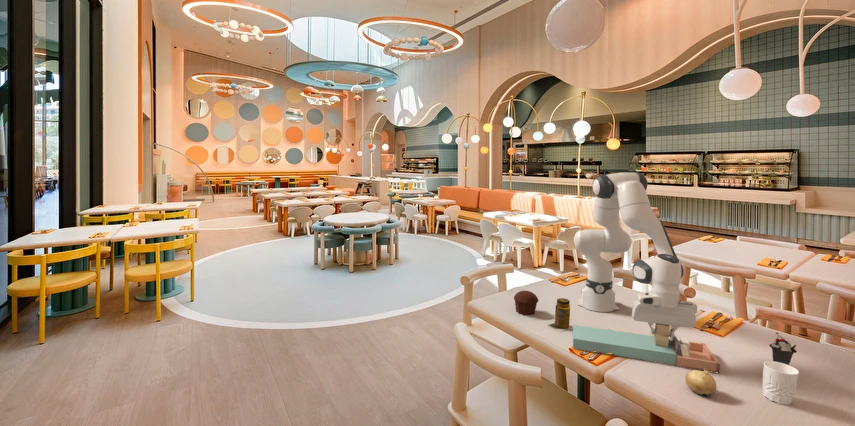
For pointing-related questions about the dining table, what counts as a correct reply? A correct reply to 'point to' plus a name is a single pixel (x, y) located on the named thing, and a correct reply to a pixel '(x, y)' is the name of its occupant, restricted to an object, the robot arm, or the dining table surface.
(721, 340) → the dining table surface
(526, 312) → the muffin
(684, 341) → the tile
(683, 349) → the tile
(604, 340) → the board
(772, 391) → the white cup
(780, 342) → the sundae
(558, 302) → the condiment
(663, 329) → the scraper
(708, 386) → the tan oval lump
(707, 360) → the tray
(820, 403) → the dining table surface
